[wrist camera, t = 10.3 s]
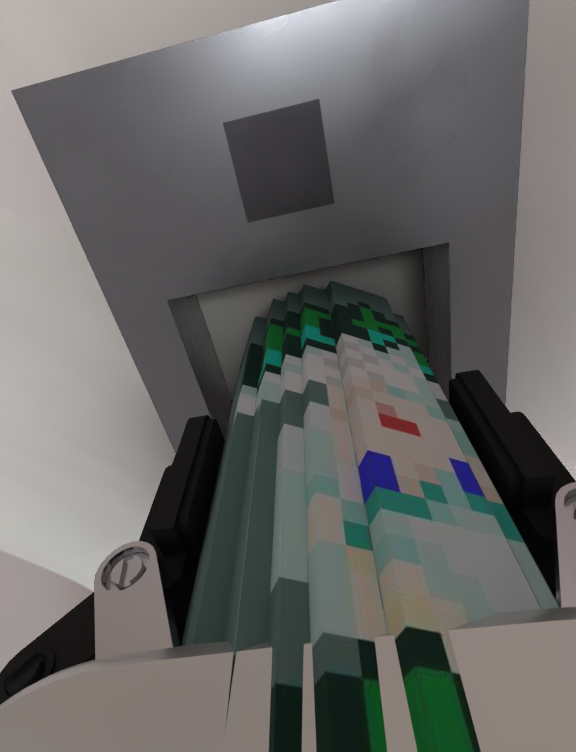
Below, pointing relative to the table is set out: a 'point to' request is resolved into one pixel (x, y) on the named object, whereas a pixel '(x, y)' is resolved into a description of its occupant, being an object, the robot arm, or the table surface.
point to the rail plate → (296, 174)
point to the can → (353, 526)
